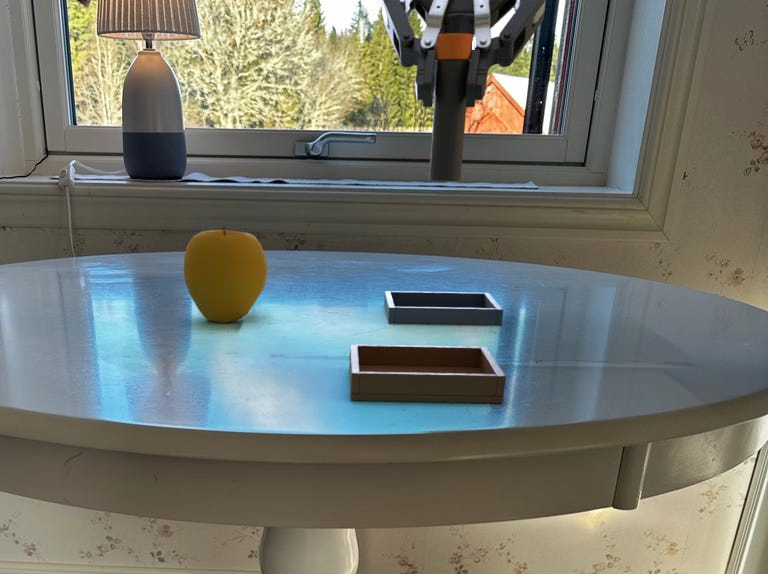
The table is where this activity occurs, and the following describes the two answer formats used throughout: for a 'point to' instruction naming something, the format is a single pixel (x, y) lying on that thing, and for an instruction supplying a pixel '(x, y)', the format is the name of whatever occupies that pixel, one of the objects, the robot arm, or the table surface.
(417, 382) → the walnut tray
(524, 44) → the robot arm
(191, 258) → the apple
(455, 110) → the marker
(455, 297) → the grey tray
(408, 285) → the table surface
